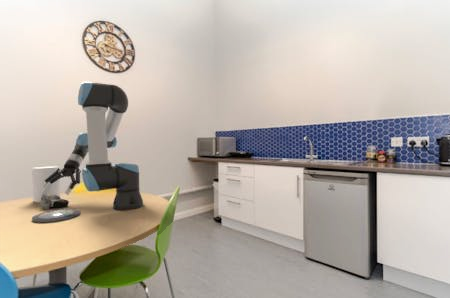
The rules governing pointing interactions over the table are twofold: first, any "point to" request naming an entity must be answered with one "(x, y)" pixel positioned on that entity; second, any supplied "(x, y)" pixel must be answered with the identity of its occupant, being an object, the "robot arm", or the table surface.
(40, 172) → the canister
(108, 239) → the table surface
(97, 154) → the robot arm
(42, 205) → the caster wheel
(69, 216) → the carrier plate
